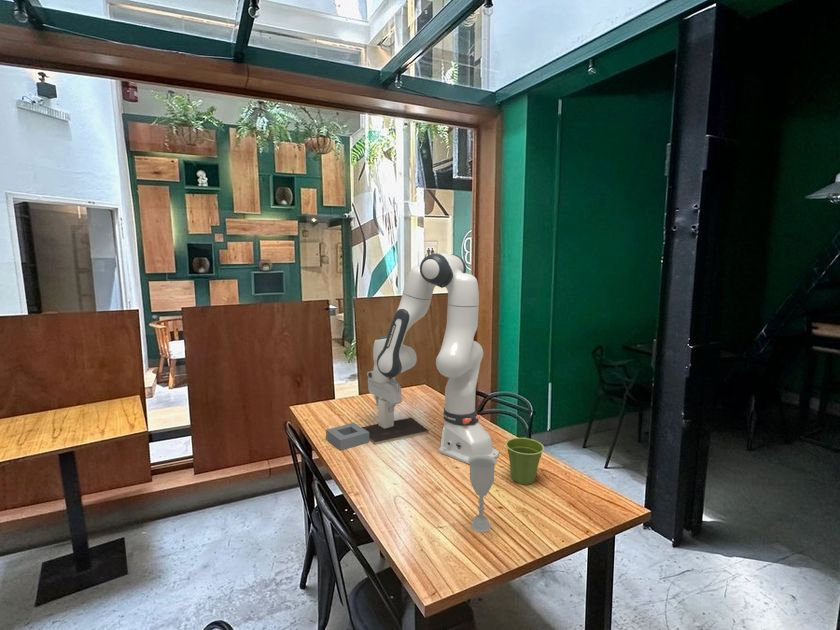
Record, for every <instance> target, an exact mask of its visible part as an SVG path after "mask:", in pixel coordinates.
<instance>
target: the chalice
mask: <svg viewBox="0 0 840 630" xmlns="http://www.w3.org/2000/svg"><path fill="white" fill-rule="evenodd" d="M468 462H469V464H468V465H469V481H470V483H471V486H472V488H473V490H474V493H475V495H477V496H479V498H478V501H477V502H478V504H479V506H478V507H477V510H478V514H477V515H475V516H474V518H473V520H472V522H471V524H470V527H471V529H472V530H473V531H475V532H477V533H486V532H489V531H490V530H491V524H490V522H489V519H488V517H487V516H486V515H484V511H485V510H486V509H485V507H484V504H485V500H484V497H486V496H487V495H488V493H489V492H490V490H491V488H492V486H493V484H494V481H495V467H496V464H497V462H498V461H497V458H493V457H491V456H487V455H474V456H471V457H469V459H468Z"/></svg>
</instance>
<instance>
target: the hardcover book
mask: <svg viewBox="0 0 840 630" xmlns="http://www.w3.org/2000/svg"><path fill="white" fill-rule="evenodd" d="M361 427H362V428H363V429H365V430H367V431H368V432H369V441H371V442H372V443H373V444H374V445H380V444H384V443H388V442H395V441H399V440H403V439H408V438H412V437H416V436H422V435H427V434H429V429H428V428H426V427H425V426H424V425H422V424H421V423H420V422H418V421H417V420H415V419H414V417H408V418H406V417H405V418H402V419H397V420H395V419H394V426H392V427H389V428H385V429H384V428H382V427H381V426H379V425H378V423H376V424H369V425H365V426H361Z"/></svg>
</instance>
